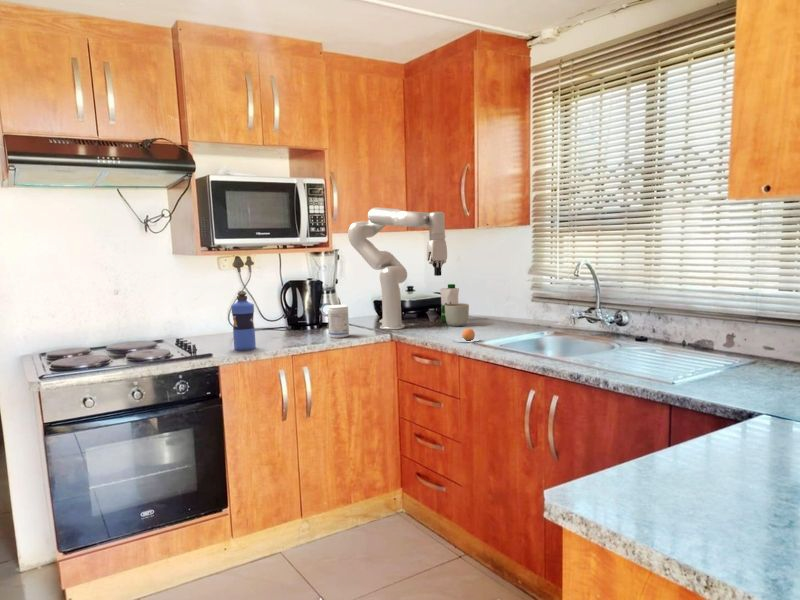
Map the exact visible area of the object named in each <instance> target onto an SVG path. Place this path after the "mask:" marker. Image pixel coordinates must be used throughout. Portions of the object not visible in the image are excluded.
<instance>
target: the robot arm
mask: <svg viewBox="0 0 800 600" xmlns="http://www.w3.org/2000/svg"><path fill="white" fill-rule="evenodd" d="M445 216H446V215H445V213H444V212H443V211H432V212H427V211H426V212H425V211H424V212H423V211H413V210H412V211H410V210H401V209H400V208H389V207H375V206H374V207H372V208H370V210H369V211H368V212H367V221H365V220H364V221H363V220H362V221H359V220H358V221H354V222H352V223H351V224H350V226H349V227H348V230H347V238H348V241H349V244H350V245H351V246H352V247H353V249H355V251H357V253H359V255H360V256H361V257H362V258H363V260H365V262H366V263H367V264H368V265H369V267H370V268H372V269H373V270H375V271H379V270H381V271H380V272H379V282H380V287H381V304H382V305H381V306H382V310H381V311H382V318H381V319H380V320H379V323H380V324H381V325H379V329H381V330H400V329H404V328H405V324H402V307H401V306H402V305H401V304H402V301H401V300H402V299H401V298H402V297H401V288H400V285H399V284H403V283H404V282H405V281H406V280H407V278H408V272H407V269H406V267H405V266H404V265H403V264H402V263H401V262H400V261H399V260H398V259H397V257H396V256H394V254H393V253H391V252H389V251H387V250H384V251H383V250H379V249H378V248H377V247H376V246H375V245H374V243H372V242H371V241H370V240H368V238H372V237H375V236H376V235H377V234H378V233H379V232H380V231H381V230H383V229H384V228H385V227H386V226H392V227H405V228H407V227H408V228H414V229H415V228H419V229H420V228H423V229H426V228H428V235H429V236H428V239H429V240H428V242H427V245H426V260H427V262H428V265H429V264H430V265H432V267H433V268H434V269H433V270H434V271H433V272H434V274H433V275H434V276H436V277H439V276H442V267H443V265H444V264H446V263H447V259H448V249H447V241H446V230H445V229H446V227H445V226H446V224H445V223H446V222H445Z"/></svg>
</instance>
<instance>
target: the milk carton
mask: <svg viewBox="0 0 800 600" xmlns="http://www.w3.org/2000/svg"><path fill="white" fill-rule="evenodd" d="M459 291H460V288H459V287H458V288H457V287H456V284H454V283H451V284H450V283H449V284H447V287H442V288H439V292H440V297H441V298H440V301H441V302H440V303H441V307H440V309H441V315H440V317H441V318H440V322H441V321H446V316H445V305H446V304H453V303H459Z"/></svg>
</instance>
